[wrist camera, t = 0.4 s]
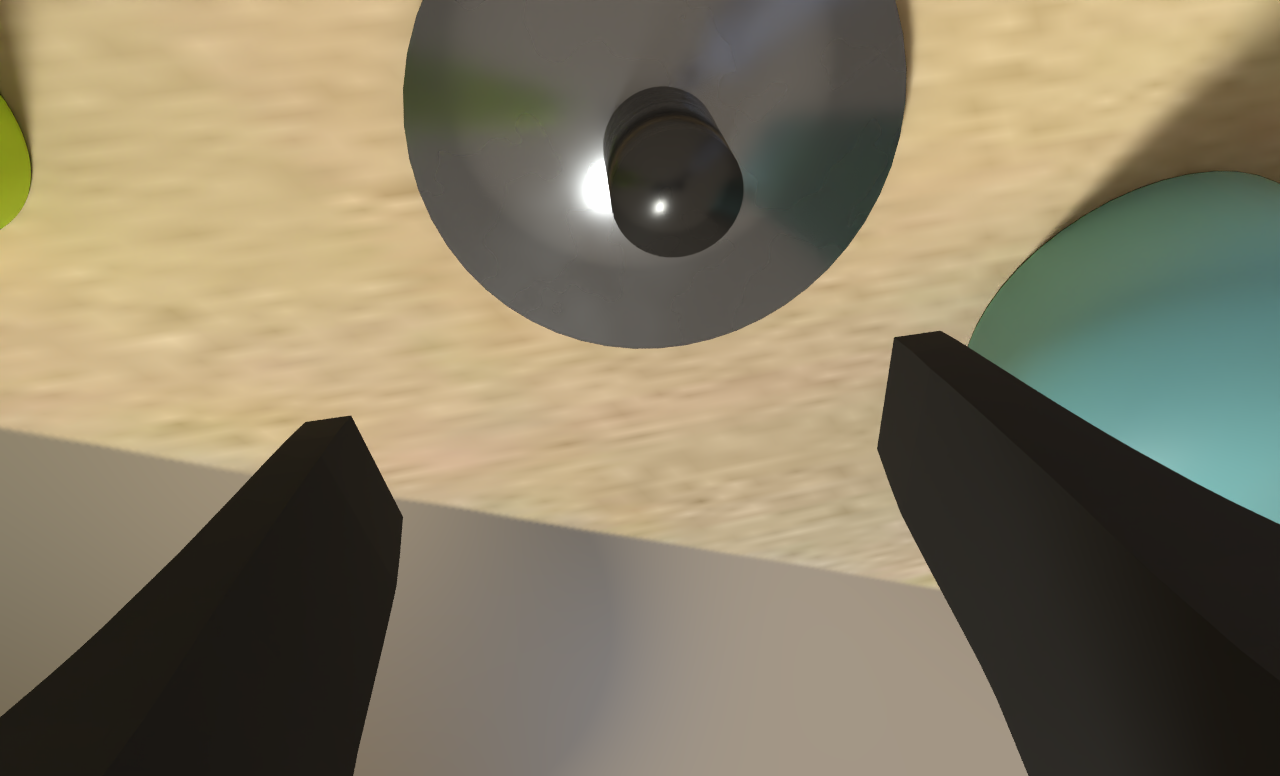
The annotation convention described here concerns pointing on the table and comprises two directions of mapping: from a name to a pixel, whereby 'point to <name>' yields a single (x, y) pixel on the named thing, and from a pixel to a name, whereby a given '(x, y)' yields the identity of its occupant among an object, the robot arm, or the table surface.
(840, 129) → the lid
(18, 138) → the soap dispenser
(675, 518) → the table surface
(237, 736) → the robot arm
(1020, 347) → the pot
